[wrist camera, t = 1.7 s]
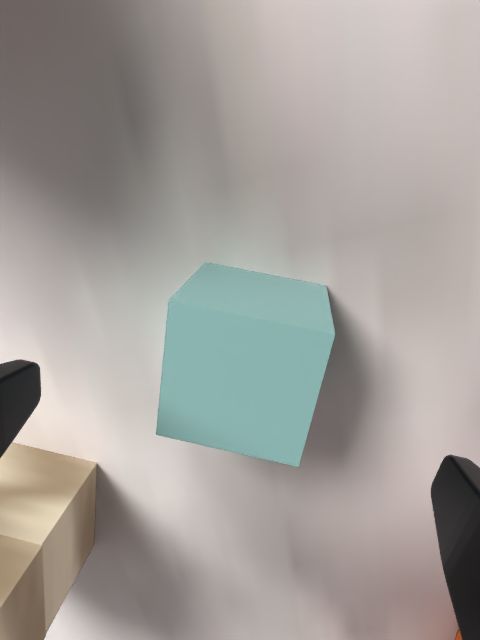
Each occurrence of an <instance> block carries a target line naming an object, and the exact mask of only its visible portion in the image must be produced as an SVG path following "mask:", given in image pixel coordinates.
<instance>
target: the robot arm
mask: <svg viewBox="0 0 480 640" xmlns="http://www.w3.org/2000/svg"><path fill="white" fill-rule="evenodd" d="M40 397H41V380H40V367H39V365H38V364H37V363H35V362H30V361H26V360H15V361H11V362H7V363H2V364H0V458H1V457H2V456H3V454H4V453H5V452H6V450H7V449H8V447H9V446H10V444H11V443H12V441H13V440H14V439H15V437H16V436H17V434H18V433H19V431H20V430H21V428H22V427H23V425H24V424H25V423H26V421H27V420H28V418H29V417H30V415H31V414H32V412H33V411H34V409H35V408H36V407H37V405H38V403H39V401H40ZM431 499H432V505H433V511H434V518H435V524H436V530H437V536H438V542H439V549H440V555H441V560H442V565H443V570H444V574H445V578H446V582H447V586H448V589H449V593H450V597H451V601H452V604H453V608H454V612H455V615H456V619H457V623H458V626H459V630H460V634H461V637H462V640H480V468H479V467H478V466H477V465H475V464H474V463H473V462H472V461H471V460H469V459H467V458H463V457H458V456H454V455H447V456H446V457H445V458H444V459H443V461H442V463H441V465H440V467H439V470H438V472H437V474H436V476H435V478H434V481H433V483H432V486H431Z"/></svg>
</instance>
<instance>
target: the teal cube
mask: <svg viewBox="0 0 480 640" xmlns="http://www.w3.org/2000/svg"><path fill="white" fill-rule="evenodd" d="M334 337H335V330H334V325H333V319H332V314H331V308H330V303H329V297H328V292H327V286H325V285H320V284H315V283H310V282H305V281H299V280H294V279H289V278H284V277H279V276H274V275H268V274H263V273H258V272H253V271H248V270H243V269H238V268H232V267H227V266H222V265H217V264H212V263H207V262H205V263H204V264H203V265H202V266H201V267H200V268H199V269H198V270H197V271H196V273H195V274H194V275H193V276H192V277H191V278H190V279H189V280H188V281H187V282H186V283H185V284H184V285H183V286H182V287H181V288H180V289H179V290H178V291H177V292H176V294H175V295H174V296H173V297H172V298H171V299H170V300H169V303H168V314H167V324H166V335H165V345H164V356H163V366H162V377H161V387H160V398H159V408H158V418H157V429H156V435H160V436H164V437H169V438H173V439H177V440H182V441H186V442H191V443H195V444H199V445H204V446H208V447H212V448H217V449H221V450H225V451H230V452H234V453H239V454H243V455H247V456H252V457H256V458H260V459H265V460H269V461H273V462H278V463H282V464H287V465H291V466H295V467H299V464H300V460H301V457H302V453H303V450H304V446H305V442H306V439H307V435H308V431H309V428H310V424H311V421H312V417H313V413H314V410H315V406H316V402H317V399H318V395H319V392H320V388H321V384H322V381H323V377H324V373H325V370H326V366H327V363H328V359H329V355H330V352H331V348H332V344H333V341H334Z"/></svg>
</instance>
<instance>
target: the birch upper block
mask: <svg viewBox="0 0 480 640" xmlns="http://www.w3.org/2000/svg"><path fill="white" fill-rule="evenodd" d="M45 636H46V631H45V604H44V577H43V549H42V545H38V544H35V543H31V542H27V541H23V540H19V539H15V538H11V537H8V536H4V535H0V640H44V638H45Z"/></svg>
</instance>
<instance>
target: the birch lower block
mask: <svg viewBox="0 0 480 640" xmlns="http://www.w3.org/2000/svg"><path fill="white" fill-rule="evenodd" d="M96 476H97V463H96V462H91V461H87V460H83V459H79V458H75V457H71V456H66V455H62V454H58V453H54V452H50V451H45V450H41V449H37V448H33V447H29V446H25V445H20V444H16V443H11V444H10V446H9V447H8V449H7V450H6V452H5V453H4V454H3V456H2V457H1V458H0V535H4V536H8V537H11V538H15V539H19V540H23V541H27V542H31V543H35V544H38V545H42V549H43V577H44V604H45V631H46V633H47V631H48V629H49V627H50V626H51V624H52V622H53V620H54V618H55V616H56V614H57V613H58V611H59V609H60V607H61V605H62V603H63V601H64V600H65V598H66V596H67V594H68V592H69V590H70V588H71V587H72V585H73V583H74V581H75V579H76V577H77V576H78V574H79V572H80V570H81V568H82V566H83V564H84V563H85V561H86V559H87V557H88V555H89V553H90V551H91V550H92V548H93V546H94V535H95V505H96Z"/></svg>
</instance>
